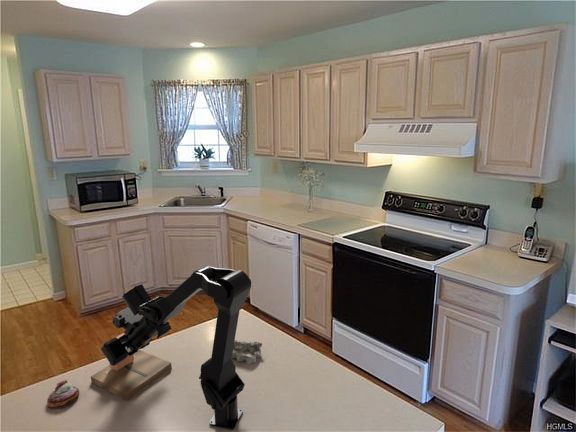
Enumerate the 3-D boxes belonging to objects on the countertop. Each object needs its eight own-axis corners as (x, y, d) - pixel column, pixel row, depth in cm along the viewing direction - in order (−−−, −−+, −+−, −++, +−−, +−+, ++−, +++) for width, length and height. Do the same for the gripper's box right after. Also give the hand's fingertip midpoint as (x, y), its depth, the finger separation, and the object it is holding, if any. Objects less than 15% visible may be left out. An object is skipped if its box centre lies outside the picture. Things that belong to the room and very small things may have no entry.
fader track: (171, 368, 119) (171, 362, 119) (127, 400, 106) (126, 393, 105) (137, 354, 126) (136, 348, 126) (91, 382, 113) (90, 376, 112)
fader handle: (135, 359, 119) (133, 335, 117) (116, 371, 114) (113, 346, 112) (127, 356, 121) (124, 332, 119) (108, 368, 116) (105, 342, 114)
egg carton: (264, 354, 127) (264, 343, 126) (251, 367, 120) (251, 355, 119) (236, 345, 131) (235, 334, 130) (222, 357, 125) (222, 346, 124)
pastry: (71, 386, 112) (68, 371, 110) (86, 396, 108) (84, 380, 106) (41, 403, 105) (38, 387, 104) (56, 414, 101) (54, 397, 100)
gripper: (158, 290, 117) (135, 315, 125) (101, 317, 101) (80, 343, 109) (179, 321, 115) (155, 344, 123) (125, 353, 99) (101, 378, 107)
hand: (124, 351), depth 115 cm, fingers closed, pressing on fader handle
